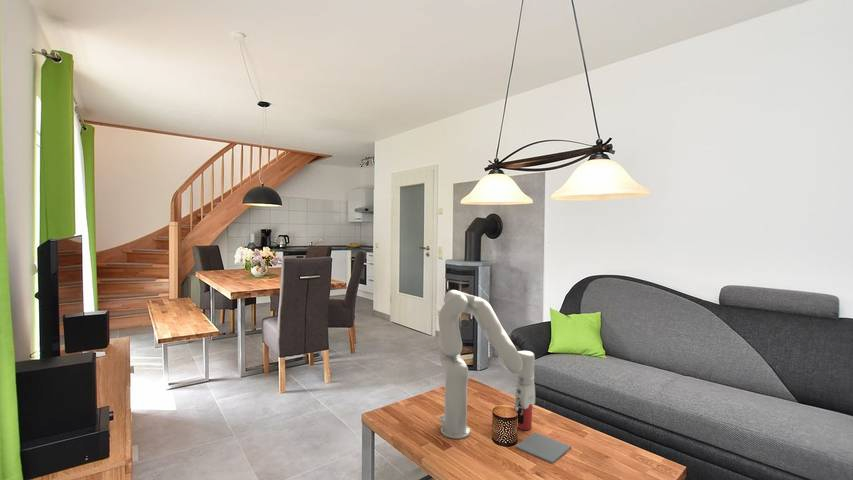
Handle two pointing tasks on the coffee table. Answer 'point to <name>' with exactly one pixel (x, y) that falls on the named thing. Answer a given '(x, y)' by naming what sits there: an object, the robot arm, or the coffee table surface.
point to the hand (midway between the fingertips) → (524, 419)
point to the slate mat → (543, 447)
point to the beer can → (526, 418)
